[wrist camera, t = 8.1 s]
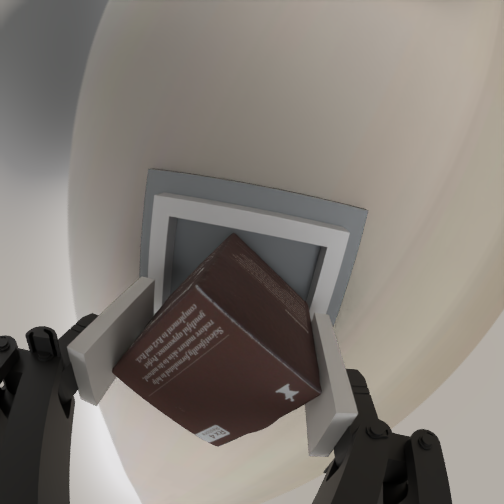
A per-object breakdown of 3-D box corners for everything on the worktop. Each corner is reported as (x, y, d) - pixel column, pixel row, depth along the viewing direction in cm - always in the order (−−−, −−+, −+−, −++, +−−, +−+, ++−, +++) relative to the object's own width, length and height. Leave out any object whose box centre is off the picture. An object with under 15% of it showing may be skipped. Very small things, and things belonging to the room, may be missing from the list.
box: (235, 228, 15) (196, 279, 8) (311, 304, 16) (328, 395, 9) (166, 297, 17) (106, 371, 10) (237, 360, 17) (215, 451, 10)
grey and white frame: (152, 168, 16) (137, 169, 14) (365, 209, 16) (376, 215, 14) (143, 344, 20) (132, 359, 18) (309, 379, 20) (311, 398, 18)
